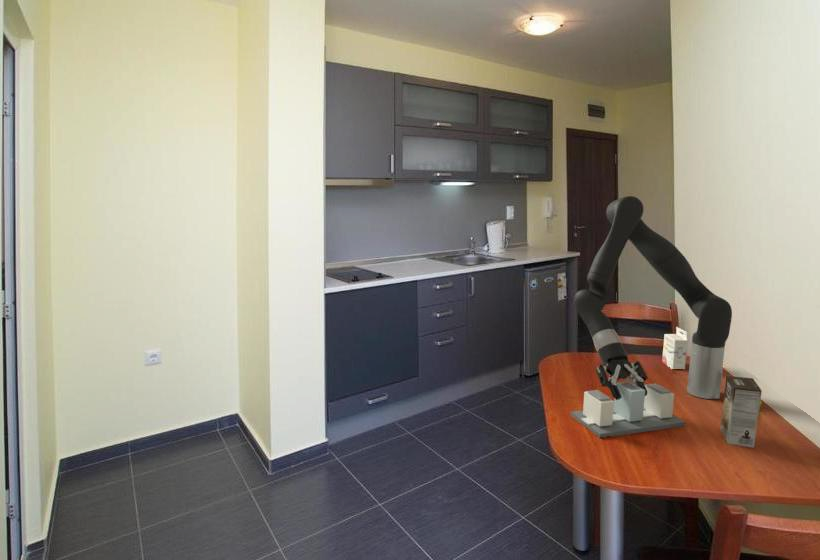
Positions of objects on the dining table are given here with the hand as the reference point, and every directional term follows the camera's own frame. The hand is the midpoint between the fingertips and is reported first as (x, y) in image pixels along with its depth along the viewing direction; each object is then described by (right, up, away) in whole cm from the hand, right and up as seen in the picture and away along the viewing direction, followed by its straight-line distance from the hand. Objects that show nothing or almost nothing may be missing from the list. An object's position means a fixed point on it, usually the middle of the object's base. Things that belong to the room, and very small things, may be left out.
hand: (631, 397), depth 139 cm
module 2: (+9, -5, +5) cm, 12 cm away
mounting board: (0, -7, +3) cm, 8 cm away
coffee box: (+25, -9, -8) cm, 28 cm away
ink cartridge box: (+38, 0, +48) cm, 61 cm away
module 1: (-10, -6, 0) cm, 12 cm away
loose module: (0, -6, +2) cm, 6 cm away
